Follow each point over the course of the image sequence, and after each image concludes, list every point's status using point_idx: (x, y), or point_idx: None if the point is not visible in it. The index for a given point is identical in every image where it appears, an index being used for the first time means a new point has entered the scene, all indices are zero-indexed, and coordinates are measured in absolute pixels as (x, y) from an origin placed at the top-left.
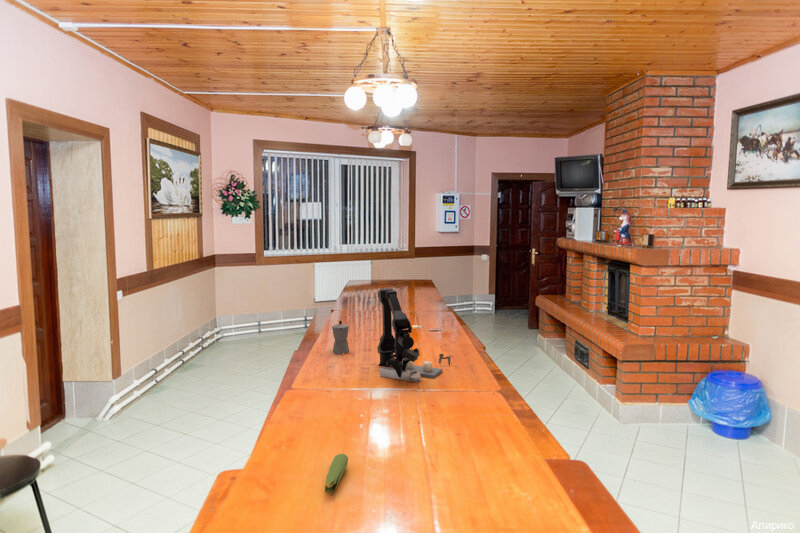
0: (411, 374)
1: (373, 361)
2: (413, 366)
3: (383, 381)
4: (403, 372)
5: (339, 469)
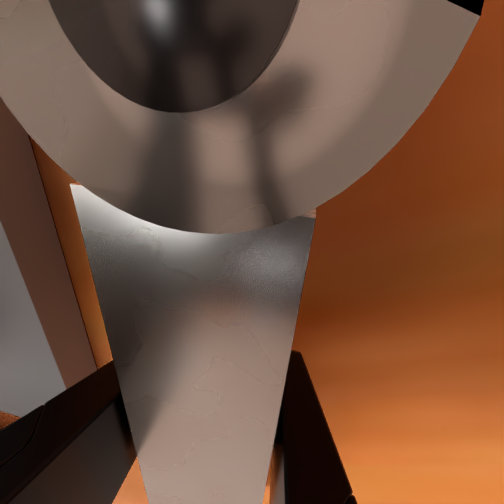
0: (408, 110)
1: None
2: None
3: (413, 468)
4: (281, 392)
5: None
